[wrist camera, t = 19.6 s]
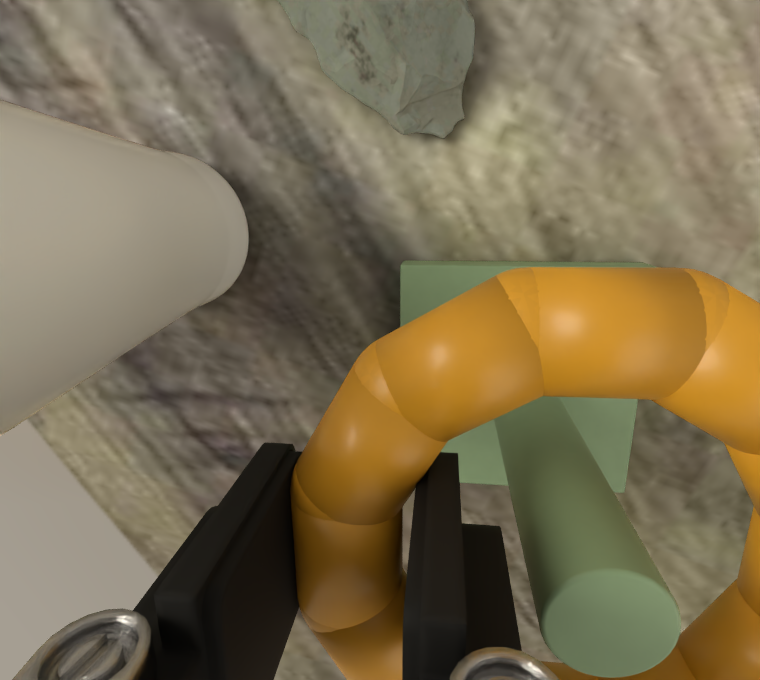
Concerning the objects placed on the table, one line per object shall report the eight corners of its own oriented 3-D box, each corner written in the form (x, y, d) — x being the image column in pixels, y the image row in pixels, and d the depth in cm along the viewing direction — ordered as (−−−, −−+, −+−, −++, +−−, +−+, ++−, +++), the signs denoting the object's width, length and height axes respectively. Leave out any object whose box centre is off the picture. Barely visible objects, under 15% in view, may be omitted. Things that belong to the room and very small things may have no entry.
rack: (403, 260, 17) (335, 362, 7) (643, 262, 16) (1018, 384, 6) (402, 463, 20) (350, 783, 9) (613, 475, 19) (842, 851, 8)
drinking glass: (269, 332, 19) (-294, 773, 4) (102, 307, 19) (-872, 627, 5) (279, 142, 17) (-687, -171, 2) (93, 121, 17) (-1559, -231, 3)
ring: (295, 259, 9) (255, 275, 7) (913, 260, 8) (1070, 281, 6) (319, 688, 12) (296, 786, 10) (780, 733, 10) (857, 852, 9)
